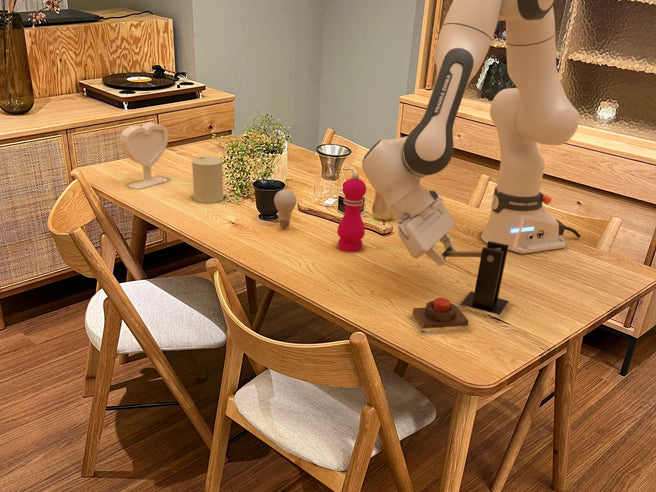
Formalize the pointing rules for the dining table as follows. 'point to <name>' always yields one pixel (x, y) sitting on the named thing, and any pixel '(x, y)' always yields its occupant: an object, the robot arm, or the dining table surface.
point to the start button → (442, 305)
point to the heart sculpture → (145, 149)
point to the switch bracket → (489, 280)
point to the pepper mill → (352, 215)
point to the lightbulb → (285, 206)
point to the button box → (439, 317)
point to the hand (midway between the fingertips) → (448, 258)
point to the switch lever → (465, 253)
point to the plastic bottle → (381, 208)
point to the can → (207, 179)
